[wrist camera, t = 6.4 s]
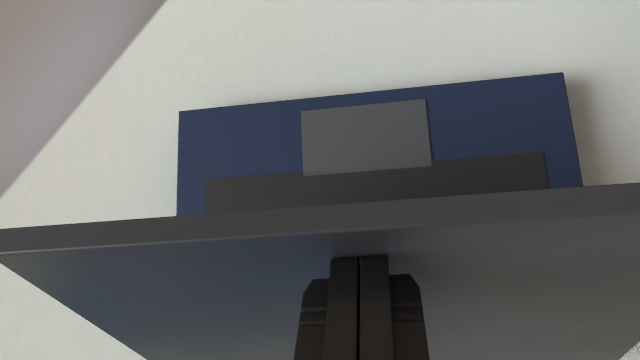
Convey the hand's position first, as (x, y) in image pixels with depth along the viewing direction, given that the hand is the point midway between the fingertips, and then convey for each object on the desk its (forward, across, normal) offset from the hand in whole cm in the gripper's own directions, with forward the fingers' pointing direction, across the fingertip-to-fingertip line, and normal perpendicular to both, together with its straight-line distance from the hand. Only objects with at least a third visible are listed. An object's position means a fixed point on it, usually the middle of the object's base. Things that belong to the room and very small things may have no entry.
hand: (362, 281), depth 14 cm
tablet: (+10, 0, +5) cm, 12 cm away
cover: (+3, 0, +3) cm, 4 cm away
